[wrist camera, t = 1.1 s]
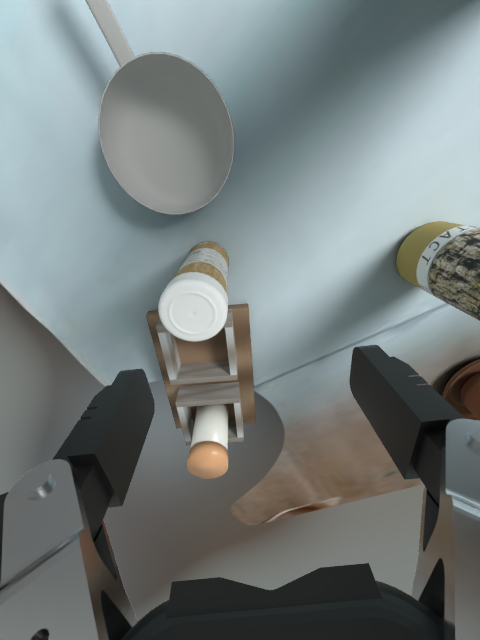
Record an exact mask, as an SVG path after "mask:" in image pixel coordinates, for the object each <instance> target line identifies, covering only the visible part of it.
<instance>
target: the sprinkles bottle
mask: <svg viewBox="0 0 480 640" xmlns="http://www.w3.org/2000/svg"><path fill="white" fill-rule="evenodd" d="M228 266H229V259H228V256H227V253H226V252H225V250H224V249H223V248H222V247H221V246H220V245H219V244H216V243H214V242H202V243H199V244H197V245H196V246H194V247H193V248H192V250H191V251H190V253H189V255H188V257H187V258H186V260H185V261H184V263H183V264H182V266H181V267H180V269H179V270H178V272H177V274H176V276H175V278H173V279H172V280H171V281H170V282H169V283H168V285H167V286H166V288H165V289H164V291H163V293H162V295H161V297H160V300H159V304H158V312H159V317H160V319H161V322H162V324H163V325H164V327H165V328H166V329H167V330H168V331H169V332H170V333H171V334H173V335H174V336H176V337H178V338H180V339H182V340H186V341H193V342H198V341H203V340H207V339H209V338H212V337H213V336H215V335H216V334H217V333H218V332H219V331H220V330H221V329H222V328H223V326H224V324H225V322H226V319H227V313H228V298H227V294H226V292H227V281H228Z"/></svg>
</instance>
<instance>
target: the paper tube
mask: <svg viewBox="0 0 480 640" xmlns="http://www.w3.org/2000/svg"><path fill="white" fill-rule="evenodd" d="M396 265H397V270H398V272H399V274H400V275H401V277H402V278H403V279H405V280H406V281H408V282H410V283H412V284H413V285H415V286H417V287H419V288H421V289H423V290H424V291H426V292H428V293H430V294H431V295H433V296H435V297H437V298H439V299H441V300H442V301H444V302H446V303H448V304H450V305H452V306H454V307H455V308H457V309H459V310H461V311H463V312H465V313H467V314H468V315H470V316H472V317H474V318H476V319H478V320H480V227H474V226H466V225H460V224H454V223H448V222H431V223H428V224H425V225H423V226H421V227H419V228H417V229H416V230H414V231H413V232H412V233H411V234H410V235H409V236H408V237H407V238H406V239H405V240H404V242H403V243H402V245H401V246H400V248H399V251H398V254H397V260H396Z"/></svg>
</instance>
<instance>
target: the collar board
mask: <svg viewBox="0 0 480 640" xmlns="http://www.w3.org/2000/svg"><path fill="white" fill-rule="evenodd" d="M146 317H147V321H148V324H149V328H150V332H151V335H152V339H153V343H154V347H155V350H156V354H157V358H158V361H159V365H160V369H161V372H162V376H163V380H164V384H165V387H166V391H167V395H168V398H169V402H170V406H171V409H172V413H173V417H174V420H175V424H176V428H182V430H183V434H184V438H185V442H186V445H191V442H192V436H193V430H194V424H195V417H196V411H197V406H202V405H215V404H228V442H238V441H244V435H243V423H254V422H256V416H255V400H254V385H253V369H252V354H251V339H250V323H249V308H248V304H237V305H228V313H227V319H226V322H225V324H224V326H223V328H222V329H221V330H220V331H219V332H218V333H217V334H216V335H215V336H213V337H212V338H209V339H207V340H203V341H198V342H193V341H186V340H182V339H180V338H178V337H176V336H174V335H173V334H171V333H170V332H169V331H168V330H167V329H166V328H165V327H164V325H163V324H162V322H161V319H160V317H159V312H158V311H149V312H148V314H147V315H146Z"/></svg>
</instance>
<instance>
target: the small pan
mask: <svg viewBox="0 0 480 640" xmlns="http://www.w3.org/2000/svg"><path fill="white" fill-rule="evenodd" d="M86 2H87V4H88V6H89V8H90V10H91V12H92V14H93V16H94V18H95V19H96V21H97V23H98V25H99V27H100V29H101V31H102V33H103V35H104V37H105V39H106V41H107V42H108V44H109V46H110V48H111V50H112V52H113V54H114V56H115V58H116V60H117V62H118V63H119V65H120V68H119V69H117V70H116V72H115V73H114V74H113V76H112V77H111V79H110V80H109V82H108V84H107V86H106V88H105V90H104V92H103V95H102V99H101V103H100V107H99V117H98V128H99V138H100V143H101V148H102V151H103V154H104V157H105V160H106V163H107V165H108V167H109V169H110V170H111V172H112V174H113V176H114V177H115V179H116V180H117V182H118V183H119V184H120V186H121V187H122V188H123V189H124V190H125V191H126V192H127V193H128V194H129V195H130V196H131V197H132V198H133V199H135V200H136V201H137V202H138V203H140V204H142V205H143V206H145V207H147V208H149V209H151V210H154V211H157V212H159V213H165V214H170V215H176V214H186V213H191V212H193V211H196V210H198V209H200V208H202V207H204V206H205V205H207V204H208V203H209V202H211V201H212V200H213V199H214V198H215V197H216V196H217V195H218V193H219V192H220V190H221V189H222V187H223V186H224V184H225V182H226V180H227V178H228V176H229V173H230V170H231V166H232V162H233V155H234V132H233V126H232V121H231V117H230V114H229V111H228V108H227V105H226V103H225V101H224V99H223V97H222V95H221V93H220V92H219V90H218V89H217V87H216V86H215V84H214V83H213V81H212V80H211V79H210V78H209V77H208V76H207V75H206V74H205V73H204V72H203V71H202V70H201V69H200V68H198V67H197V66H196V65H194V64H193V63H192V62H190V61H188V60H186V59H184V58H182V57H180V56H178V55H173V54H169V53H165V52H150V53H146V54H142V55H138V56H136V57H135V56H134V54H133V52H132V50H131V48H130V46H129V44H128V42H127V40H126V38H125V36H124V34H123V31H122V29H121V27H120V25H119V23H118V21H117V19H116V17H115V15H114V13H113V11H112V9H111V7H110V5H109V3H108V1H107V0H86Z"/></svg>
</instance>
